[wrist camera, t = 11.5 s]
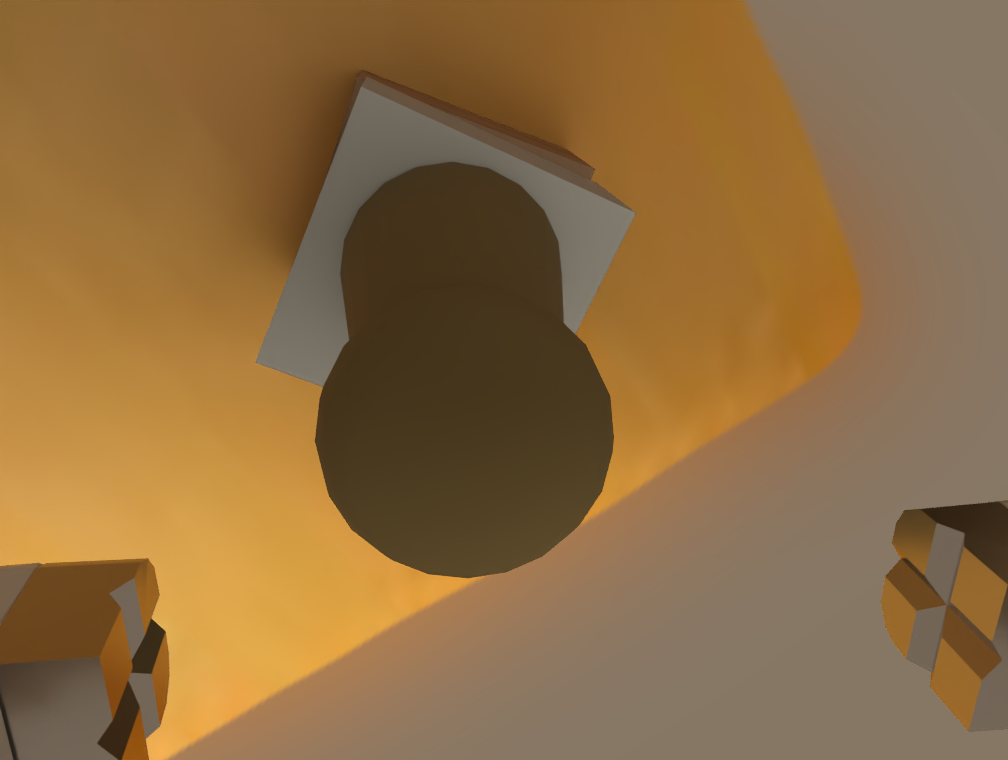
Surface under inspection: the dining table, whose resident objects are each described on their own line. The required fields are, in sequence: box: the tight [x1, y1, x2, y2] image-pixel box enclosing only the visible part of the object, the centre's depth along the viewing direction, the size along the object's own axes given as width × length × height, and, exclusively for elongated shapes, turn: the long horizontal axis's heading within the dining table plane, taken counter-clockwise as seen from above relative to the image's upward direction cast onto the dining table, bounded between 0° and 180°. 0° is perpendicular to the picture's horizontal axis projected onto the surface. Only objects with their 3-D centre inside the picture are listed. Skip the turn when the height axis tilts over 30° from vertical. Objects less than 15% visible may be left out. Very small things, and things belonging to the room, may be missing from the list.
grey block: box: [256, 77, 636, 387], centre depth 26 cm, size 8×8×5 cm
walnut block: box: [326, 70, 595, 180], centre depth 31 cm, size 8×8×5 cm
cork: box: [315, 162, 614, 578], centre depth 19 cm, size 6×6×11 cm
